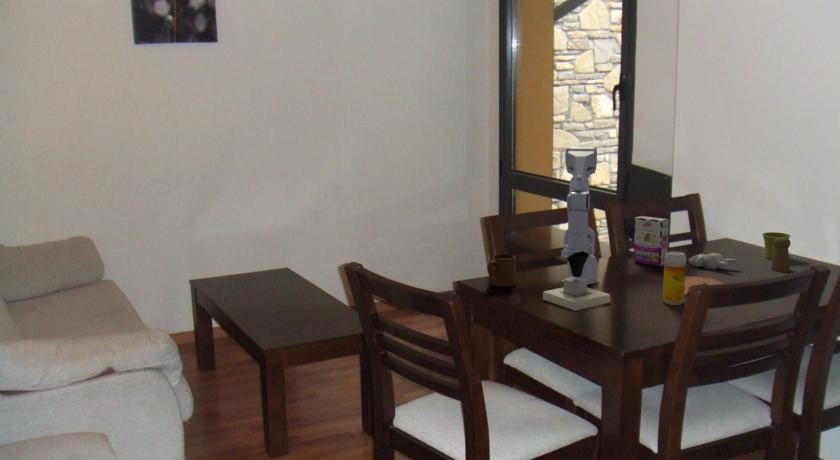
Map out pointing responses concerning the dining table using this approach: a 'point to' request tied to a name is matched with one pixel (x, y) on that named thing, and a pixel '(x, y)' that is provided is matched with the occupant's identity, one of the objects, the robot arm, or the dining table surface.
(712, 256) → the bunny figurine
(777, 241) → the olive tall rounded piece
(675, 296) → the yellow supplement bottle
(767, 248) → the plant pot
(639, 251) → the candy bar box
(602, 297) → the socket
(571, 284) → the plug
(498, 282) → the mug
